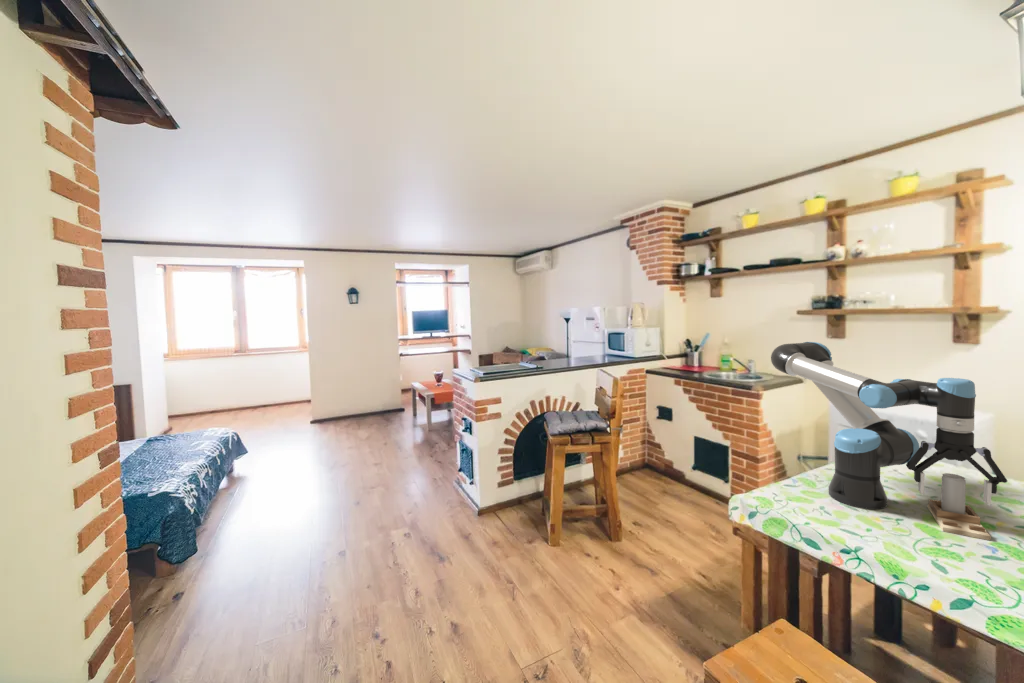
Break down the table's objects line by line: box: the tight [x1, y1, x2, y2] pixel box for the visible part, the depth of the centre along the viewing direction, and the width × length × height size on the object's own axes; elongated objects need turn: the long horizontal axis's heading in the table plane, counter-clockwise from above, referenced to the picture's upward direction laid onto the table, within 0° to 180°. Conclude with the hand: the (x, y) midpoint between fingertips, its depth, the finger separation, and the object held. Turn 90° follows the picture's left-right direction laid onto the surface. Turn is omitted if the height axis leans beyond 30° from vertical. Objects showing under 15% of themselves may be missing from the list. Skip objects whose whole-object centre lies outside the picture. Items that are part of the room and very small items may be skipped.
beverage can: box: [941, 472, 966, 514], centre depth 118 cm, size 5×5×12 cm
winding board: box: [927, 498, 992, 541], centre depth 115 cm, size 9×16×3 cm, turn 144°
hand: (953, 497), depth 118 cm, fingers open, 13 cm apart
